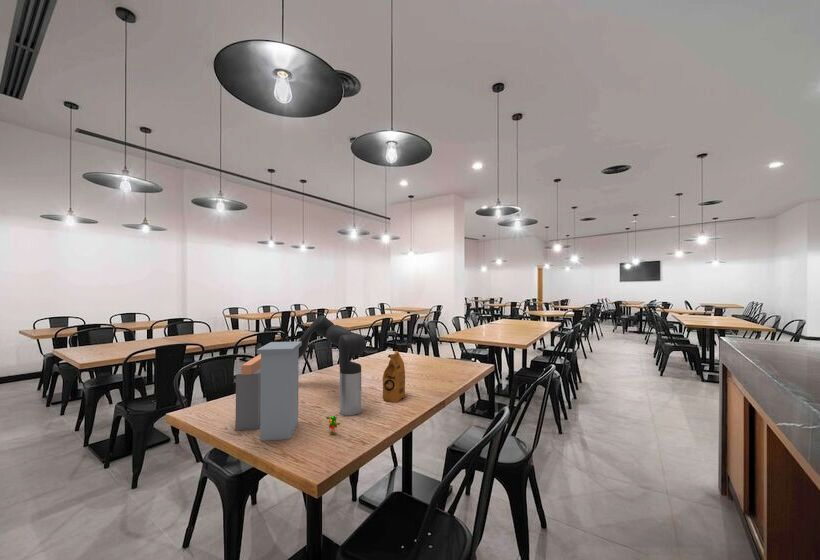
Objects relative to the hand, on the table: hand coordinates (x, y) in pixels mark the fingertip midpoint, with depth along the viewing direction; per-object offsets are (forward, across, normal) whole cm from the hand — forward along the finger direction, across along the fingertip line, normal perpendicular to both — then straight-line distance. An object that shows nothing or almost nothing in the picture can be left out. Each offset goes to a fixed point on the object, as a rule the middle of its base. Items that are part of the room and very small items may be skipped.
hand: (268, 345), depth 152 cm
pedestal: (+14, +13, +39) cm, 43 cm away
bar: (+11, 0, +13) cm, 17 cm away
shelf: (+3, 0, +33) cm, 33 cm away
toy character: (+18, +32, +42) cm, 56 cm away
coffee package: (-12, +58, +24) cm, 64 cm away
